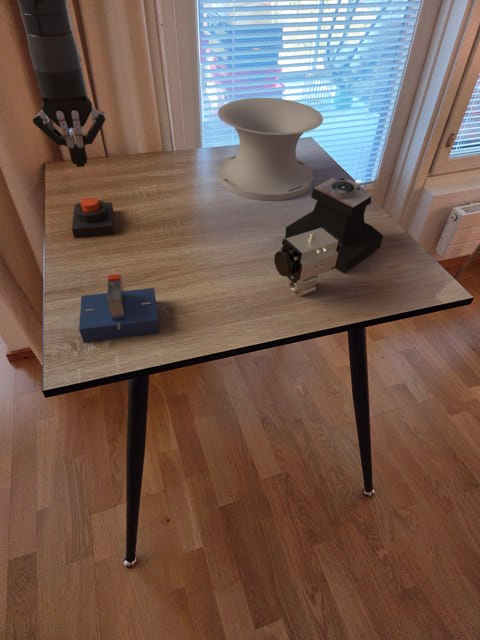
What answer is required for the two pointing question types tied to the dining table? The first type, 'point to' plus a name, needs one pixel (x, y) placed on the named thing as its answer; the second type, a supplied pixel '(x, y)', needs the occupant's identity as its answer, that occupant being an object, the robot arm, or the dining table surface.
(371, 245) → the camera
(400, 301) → the dining table surface
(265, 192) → the vase
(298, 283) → the pneumatic valve
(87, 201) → the release button
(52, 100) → the robot arm
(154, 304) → the toggle switch base
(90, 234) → the button housing
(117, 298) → the toggle switch lever
